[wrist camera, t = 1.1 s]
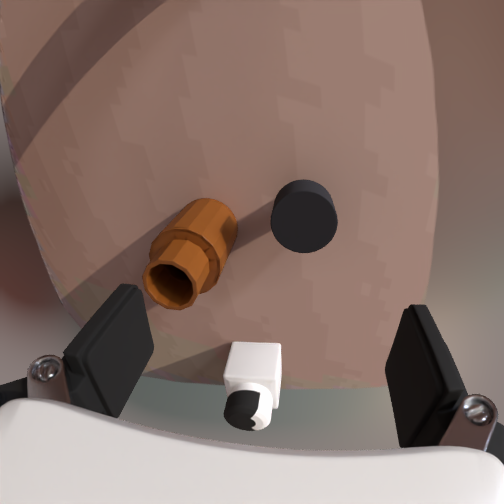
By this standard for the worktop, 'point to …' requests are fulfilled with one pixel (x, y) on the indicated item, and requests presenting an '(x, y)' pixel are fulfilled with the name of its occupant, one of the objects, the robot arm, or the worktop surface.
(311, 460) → the robot arm
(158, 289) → the amber bottle
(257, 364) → the medicine bottle
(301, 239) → the stopper
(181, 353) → the worktop surface
